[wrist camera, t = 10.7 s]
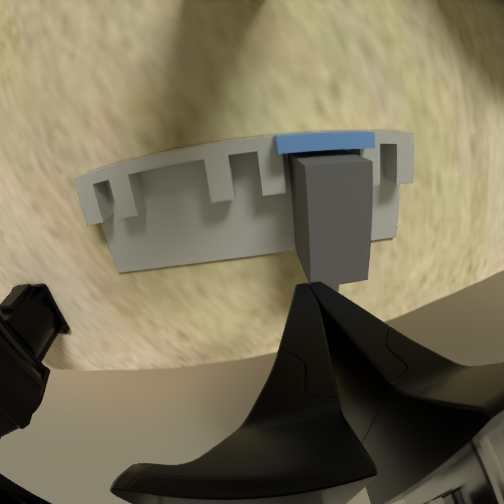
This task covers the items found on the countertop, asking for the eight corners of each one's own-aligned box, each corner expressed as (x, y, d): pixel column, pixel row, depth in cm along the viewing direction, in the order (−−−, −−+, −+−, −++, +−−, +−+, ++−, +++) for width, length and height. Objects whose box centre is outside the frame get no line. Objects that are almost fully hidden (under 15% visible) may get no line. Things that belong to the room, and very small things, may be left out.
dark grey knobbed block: (340, 273, 23) (363, 314, 18) (297, 279, 23) (311, 324, 18) (339, 148, 18) (372, 161, 13) (287, 151, 18) (304, 165, 13)
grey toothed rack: (394, 235, 22) (416, 256, 19) (119, 271, 22) (103, 296, 19) (397, 129, 18) (425, 134, 14) (88, 170, 18) (62, 182, 15)
